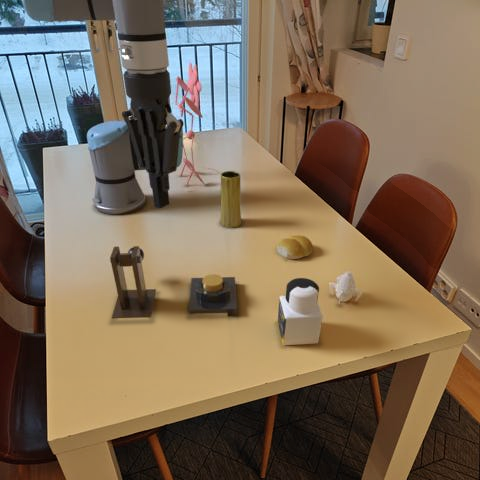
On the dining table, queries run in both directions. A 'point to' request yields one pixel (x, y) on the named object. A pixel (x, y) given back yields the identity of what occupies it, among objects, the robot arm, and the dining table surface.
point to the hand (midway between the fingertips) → (162, 205)
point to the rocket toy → (345, 287)
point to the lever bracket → (131, 300)
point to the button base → (213, 298)
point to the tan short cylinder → (212, 283)
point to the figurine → (194, 90)
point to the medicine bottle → (300, 313)
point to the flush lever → (128, 258)
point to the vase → (230, 199)
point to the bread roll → (295, 247)
